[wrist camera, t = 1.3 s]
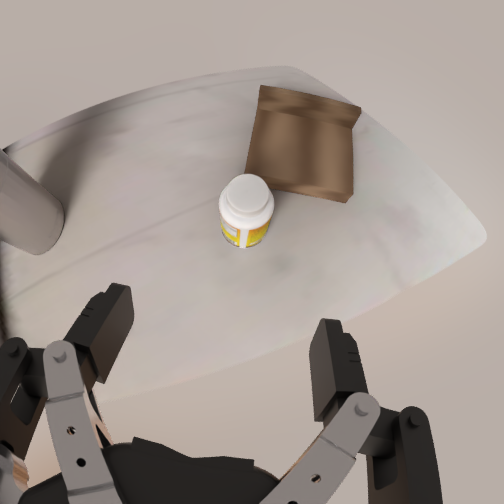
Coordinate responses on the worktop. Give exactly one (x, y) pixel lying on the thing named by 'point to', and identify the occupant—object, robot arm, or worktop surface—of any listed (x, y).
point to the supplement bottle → (245, 210)
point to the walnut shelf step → (303, 144)
